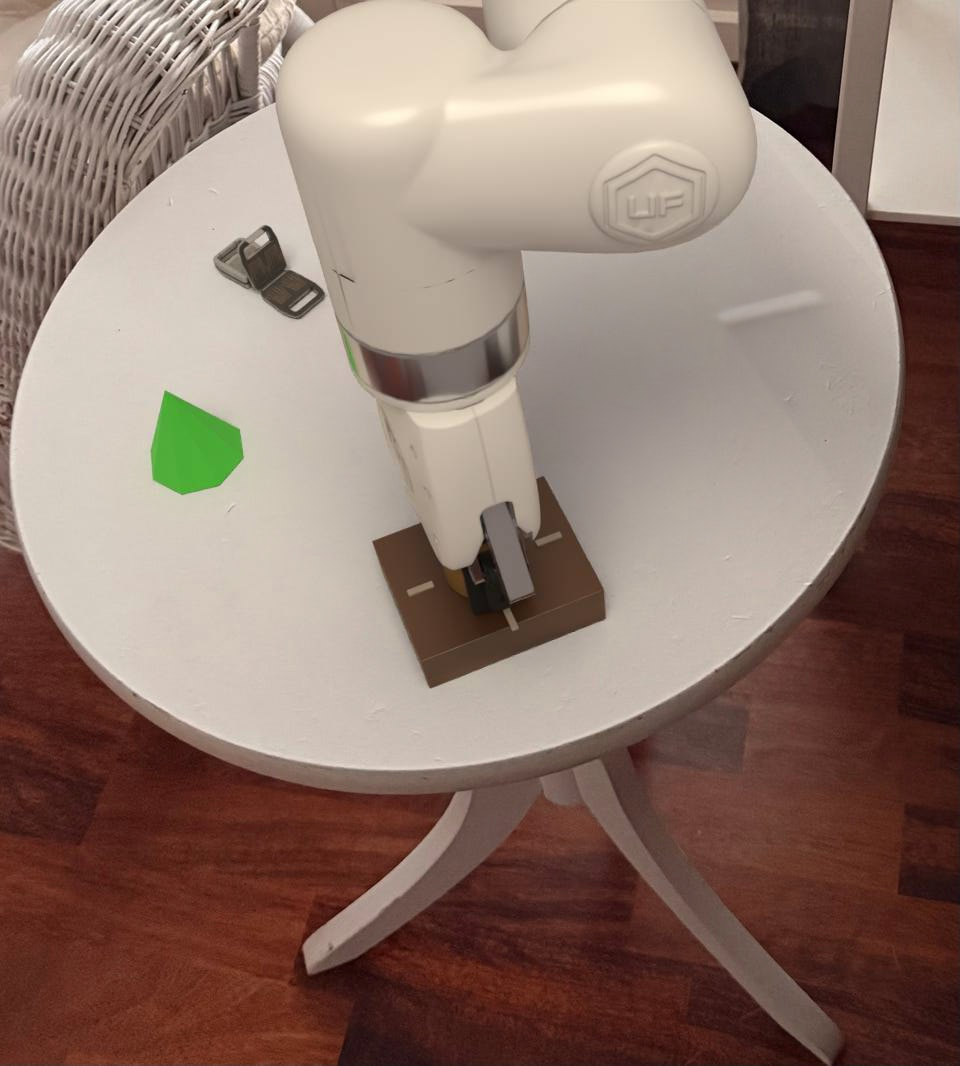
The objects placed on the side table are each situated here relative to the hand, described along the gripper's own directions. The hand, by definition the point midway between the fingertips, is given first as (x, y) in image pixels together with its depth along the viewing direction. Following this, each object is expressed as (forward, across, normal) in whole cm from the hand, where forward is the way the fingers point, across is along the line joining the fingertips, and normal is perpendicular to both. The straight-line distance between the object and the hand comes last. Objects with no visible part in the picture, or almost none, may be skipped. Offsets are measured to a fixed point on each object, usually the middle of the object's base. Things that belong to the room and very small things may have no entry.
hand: (482, 559), depth 65 cm
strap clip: (+4, -29, -5) cm, 29 cm away
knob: (0, 0, 0) cm, 1 cm away
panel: (+4, 0, 0) cm, 4 cm away
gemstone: (+4, -17, -13) cm, 21 cm away
